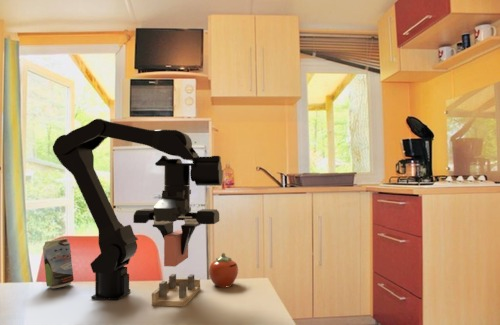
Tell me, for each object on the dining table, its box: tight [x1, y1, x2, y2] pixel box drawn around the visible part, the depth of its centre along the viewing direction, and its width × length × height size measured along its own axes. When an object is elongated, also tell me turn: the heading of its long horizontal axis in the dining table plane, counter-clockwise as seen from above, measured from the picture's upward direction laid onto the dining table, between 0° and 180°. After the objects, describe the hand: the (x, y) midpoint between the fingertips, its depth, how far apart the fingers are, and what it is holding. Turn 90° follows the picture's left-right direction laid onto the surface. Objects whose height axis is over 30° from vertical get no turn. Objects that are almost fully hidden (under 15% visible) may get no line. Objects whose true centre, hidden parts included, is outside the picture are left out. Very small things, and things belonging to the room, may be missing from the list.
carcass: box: [151, 273, 201, 307], centre depth 85 cm, size 7×12×4 cm, turn 172°
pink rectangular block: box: [163, 229, 189, 267], centre depth 85 cm, size 9×2×6 cm, turn 172°
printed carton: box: [42, 237, 74, 289], centre depth 93 cm, size 6×7×12 cm
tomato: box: [208, 252, 239, 288], centre depth 93 cm, size 7×7×8 cm
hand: (176, 254), depth 85 cm, fingers closed on pink rectangular block, 2 cm apart
